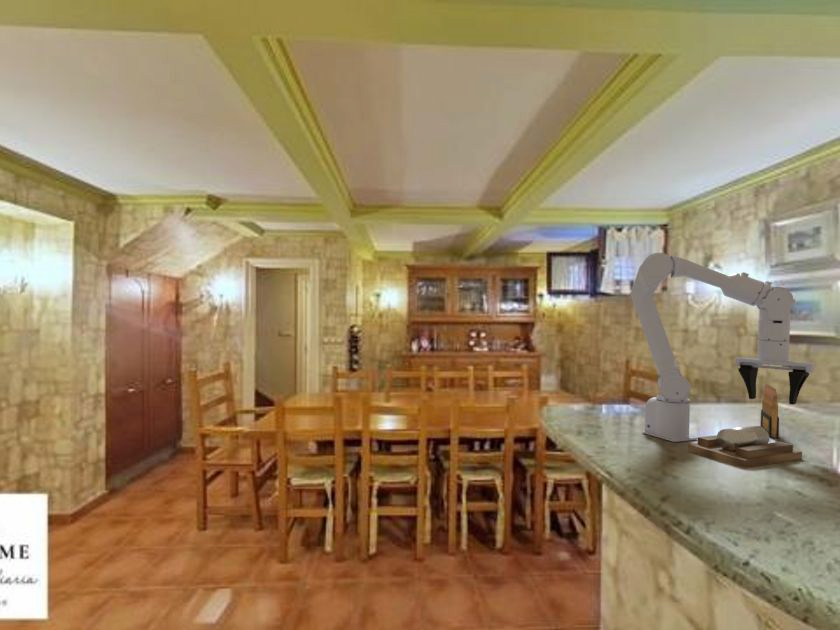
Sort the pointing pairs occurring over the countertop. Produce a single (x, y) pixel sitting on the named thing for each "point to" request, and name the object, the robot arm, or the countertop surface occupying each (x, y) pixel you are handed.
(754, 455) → the cradle block
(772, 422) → the ammunition clip
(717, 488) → the countertop surface
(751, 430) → the steel axle
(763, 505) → the countertop surface
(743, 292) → the robot arm
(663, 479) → the countertop surface
